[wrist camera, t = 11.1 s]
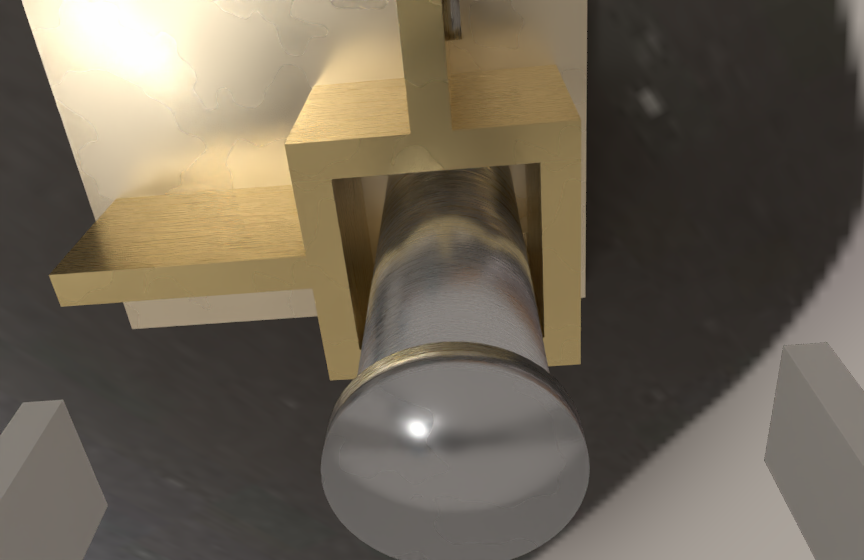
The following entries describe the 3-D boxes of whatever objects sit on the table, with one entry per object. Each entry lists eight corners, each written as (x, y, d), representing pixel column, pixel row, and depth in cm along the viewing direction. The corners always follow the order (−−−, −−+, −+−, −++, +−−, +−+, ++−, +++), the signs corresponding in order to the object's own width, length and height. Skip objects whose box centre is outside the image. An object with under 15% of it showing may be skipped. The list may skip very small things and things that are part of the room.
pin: (384, 260, 27) (341, 574, 15) (365, 123, 24) (299, 379, 13) (527, 249, 26) (588, 561, 15) (522, 109, 24) (591, 359, 13)
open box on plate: (581, 282, 28) (611, 387, 23) (141, 314, 29) (75, 421, 24) (582, -260, 20) (630, -288, 15) (-24, -193, 21) (-178, -198, 16)
